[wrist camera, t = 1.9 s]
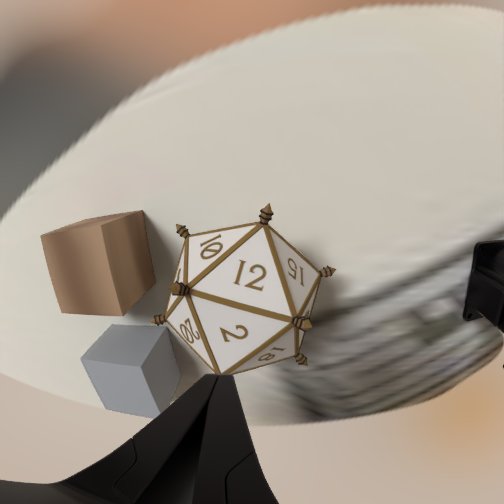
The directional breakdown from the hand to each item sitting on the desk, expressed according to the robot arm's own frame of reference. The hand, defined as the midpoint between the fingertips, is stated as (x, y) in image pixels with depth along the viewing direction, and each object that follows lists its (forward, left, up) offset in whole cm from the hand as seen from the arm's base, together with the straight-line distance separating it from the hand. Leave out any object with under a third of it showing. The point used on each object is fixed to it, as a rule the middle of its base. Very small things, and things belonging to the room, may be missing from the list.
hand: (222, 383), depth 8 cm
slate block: (+9, +6, -10) cm, 15 cm away
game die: (0, 0, -10) cm, 10 cm away
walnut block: (+9, -2, -10) cm, 14 cm away
